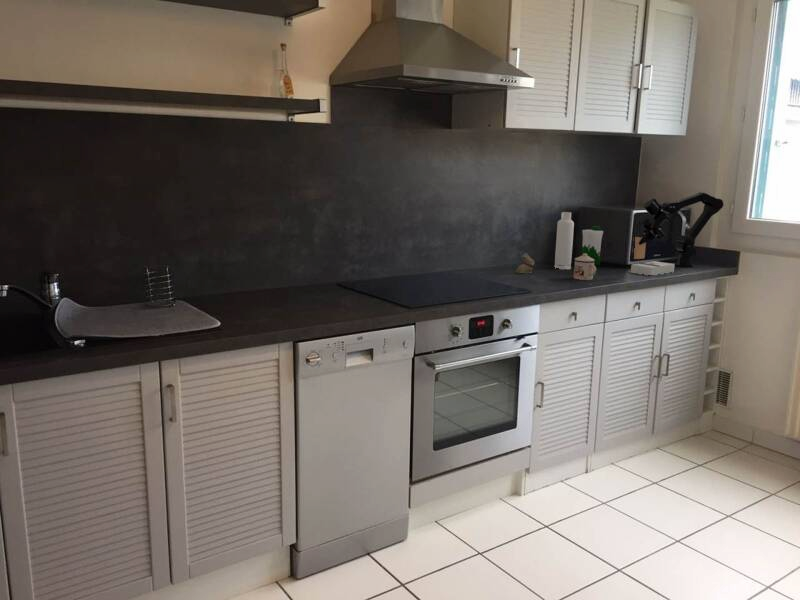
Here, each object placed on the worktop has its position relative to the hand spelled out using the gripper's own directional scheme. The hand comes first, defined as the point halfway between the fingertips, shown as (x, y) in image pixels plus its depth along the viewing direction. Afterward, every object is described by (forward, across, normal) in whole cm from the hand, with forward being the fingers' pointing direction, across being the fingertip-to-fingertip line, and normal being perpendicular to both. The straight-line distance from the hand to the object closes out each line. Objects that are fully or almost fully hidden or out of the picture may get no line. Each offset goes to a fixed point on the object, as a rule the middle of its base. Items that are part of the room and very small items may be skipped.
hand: (637, 243), depth 331 cm
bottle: (+35, -10, -18) cm, 41 cm away
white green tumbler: (+21, -15, -3) cm, 26 cm away
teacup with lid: (+41, +19, -24) cm, 51 cm away
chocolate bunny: (+54, -3, -37) cm, 66 cm away
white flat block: (+10, +14, +7) cm, 19 cm away
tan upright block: (+4, 0, +6) cm, 8 cm away
